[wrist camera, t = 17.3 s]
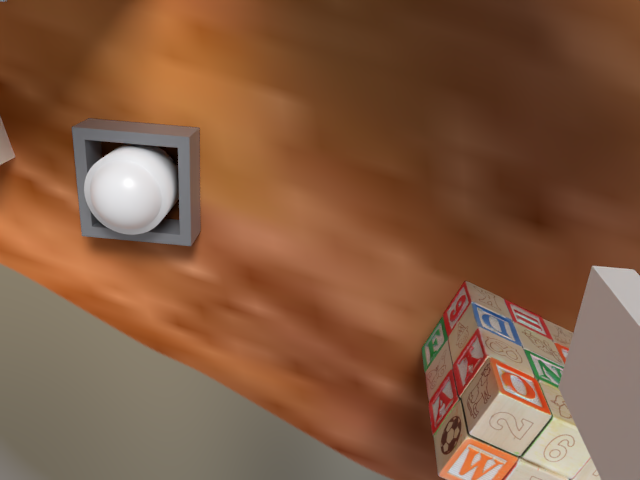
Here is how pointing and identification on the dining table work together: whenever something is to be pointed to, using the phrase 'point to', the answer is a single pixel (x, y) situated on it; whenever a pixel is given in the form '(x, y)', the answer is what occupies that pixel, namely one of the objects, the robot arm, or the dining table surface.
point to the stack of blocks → (500, 394)
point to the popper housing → (180, 137)
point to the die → (5, 145)
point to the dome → (132, 188)
